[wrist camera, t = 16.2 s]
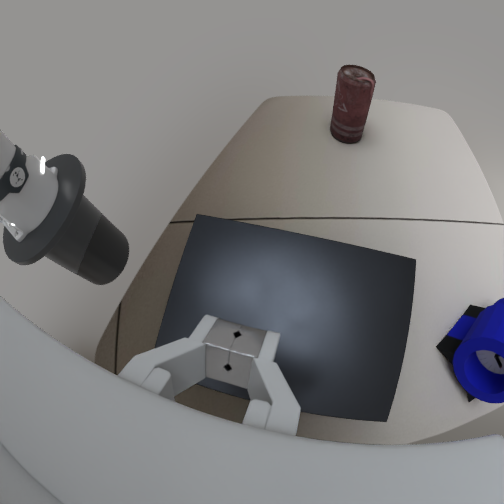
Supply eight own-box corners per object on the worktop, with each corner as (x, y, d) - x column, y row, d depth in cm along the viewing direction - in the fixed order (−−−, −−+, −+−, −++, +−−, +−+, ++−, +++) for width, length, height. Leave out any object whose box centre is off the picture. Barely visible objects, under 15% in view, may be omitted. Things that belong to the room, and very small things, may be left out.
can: (352, 150, 43) (368, 87, 30) (323, 132, 45) (331, 70, 32) (367, 134, 44) (384, 75, 32) (340, 119, 47) (350, 60, 34)
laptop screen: (198, 216, 37) (196, 213, 36) (413, 261, 32) (416, 259, 31) (152, 365, 31) (149, 366, 30) (384, 420, 25) (386, 421, 25)
